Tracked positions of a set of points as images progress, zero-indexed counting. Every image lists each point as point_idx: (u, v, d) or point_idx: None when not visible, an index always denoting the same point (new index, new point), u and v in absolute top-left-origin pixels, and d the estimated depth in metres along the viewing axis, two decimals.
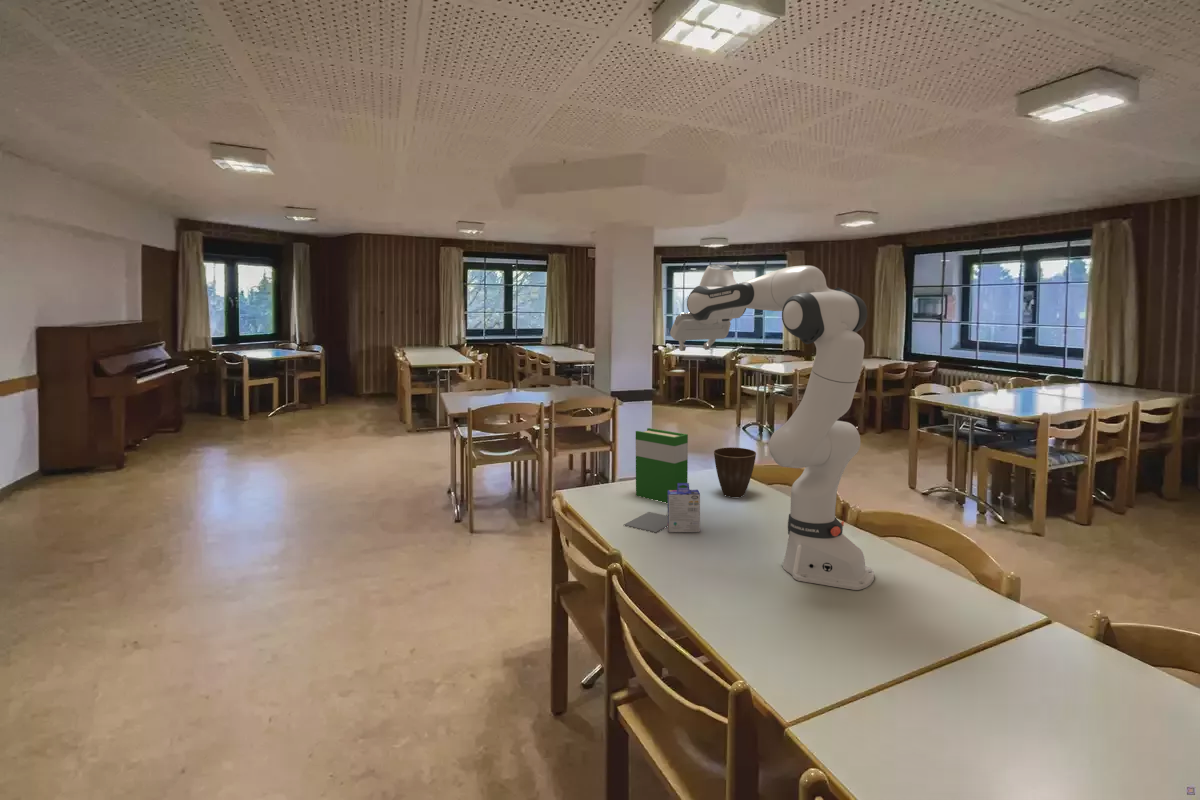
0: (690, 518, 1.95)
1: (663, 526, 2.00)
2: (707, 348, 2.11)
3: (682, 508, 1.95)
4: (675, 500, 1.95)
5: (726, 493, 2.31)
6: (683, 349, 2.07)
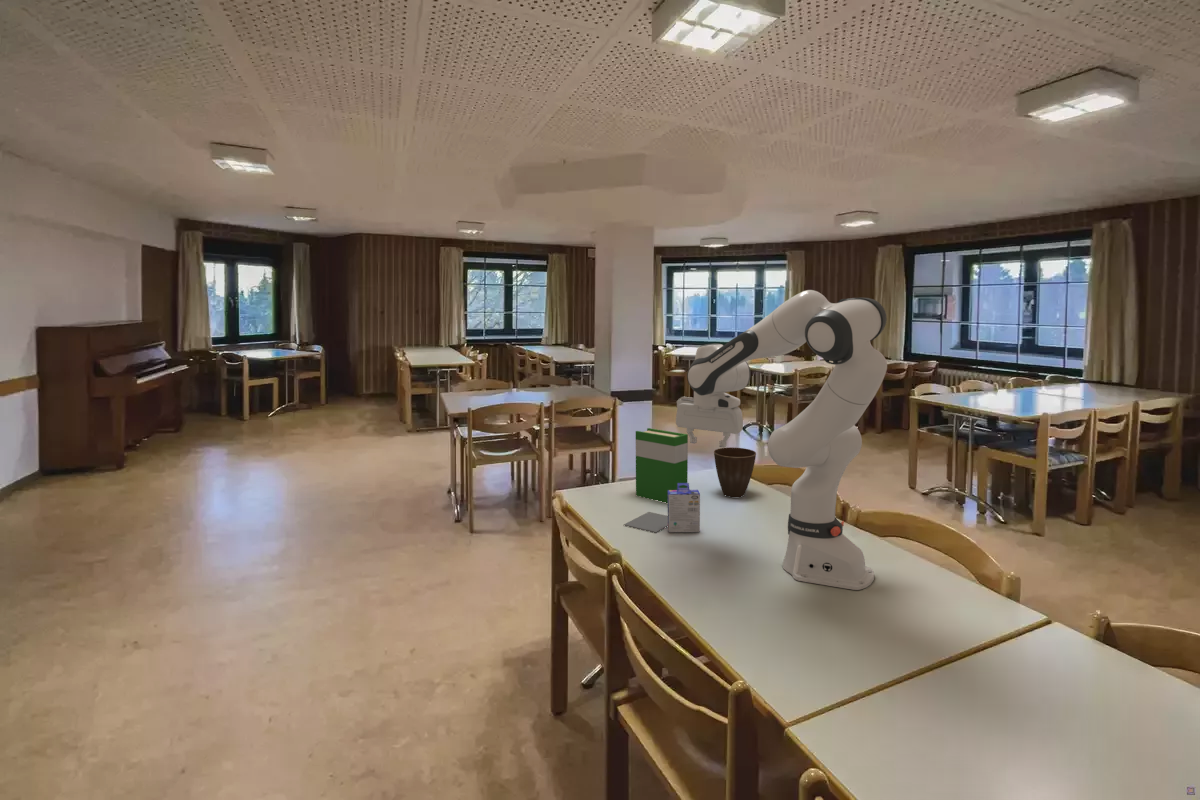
0: (690, 518, 1.95)
1: (663, 526, 2.00)
2: (721, 445, 1.87)
3: (682, 508, 1.95)
4: (675, 500, 1.95)
5: (726, 493, 2.31)
6: (692, 441, 1.92)
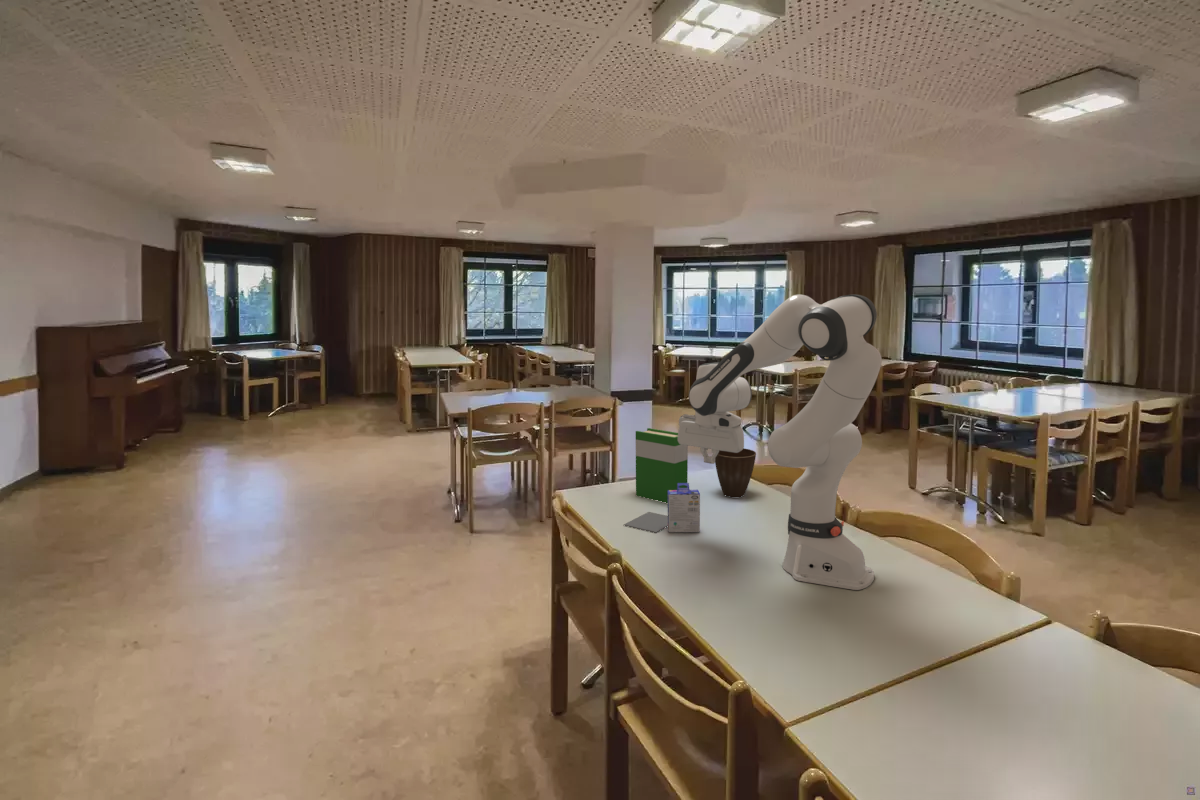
0: (690, 518, 1.95)
1: (663, 526, 2.00)
2: (709, 461, 1.89)
3: (682, 508, 1.95)
4: (675, 500, 1.95)
5: (726, 493, 2.31)
6: (705, 460, 1.90)
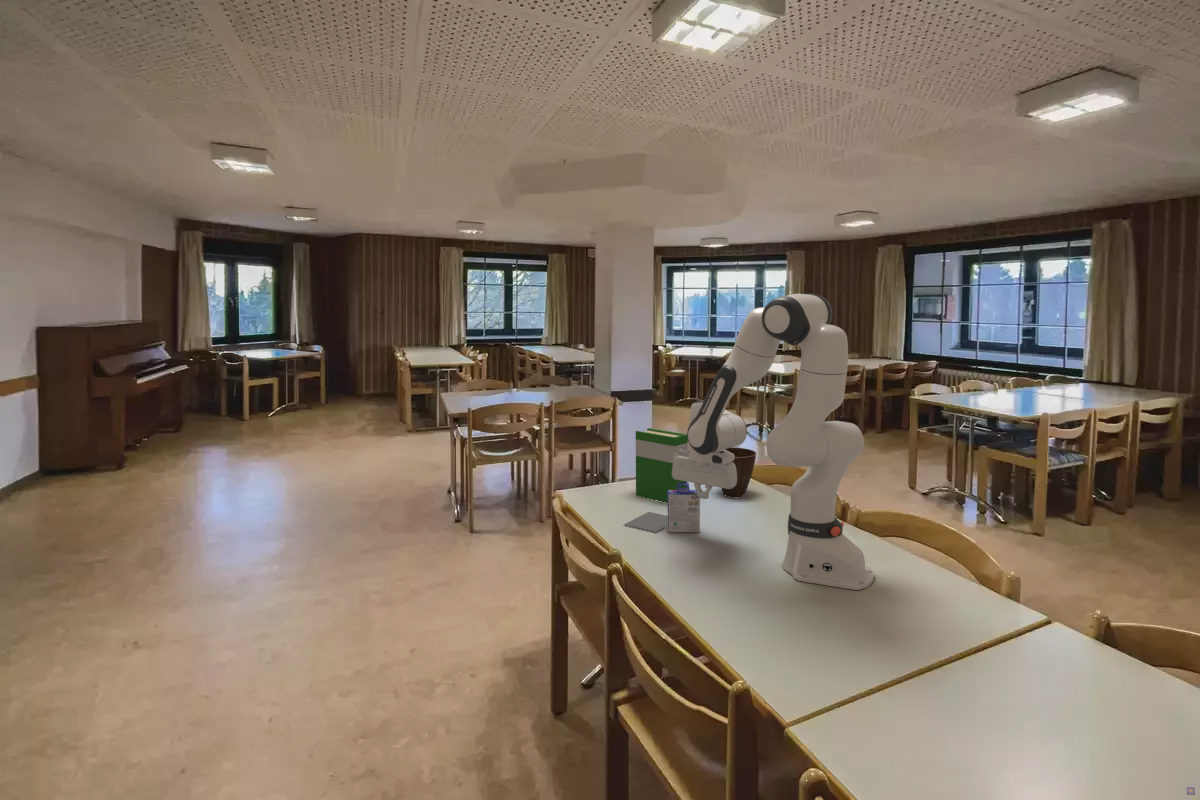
0: (690, 518, 1.95)
1: (663, 526, 2.00)
2: (703, 496, 1.92)
3: (682, 508, 1.95)
4: (675, 500, 1.95)
5: (726, 493, 2.31)
6: (699, 495, 1.92)
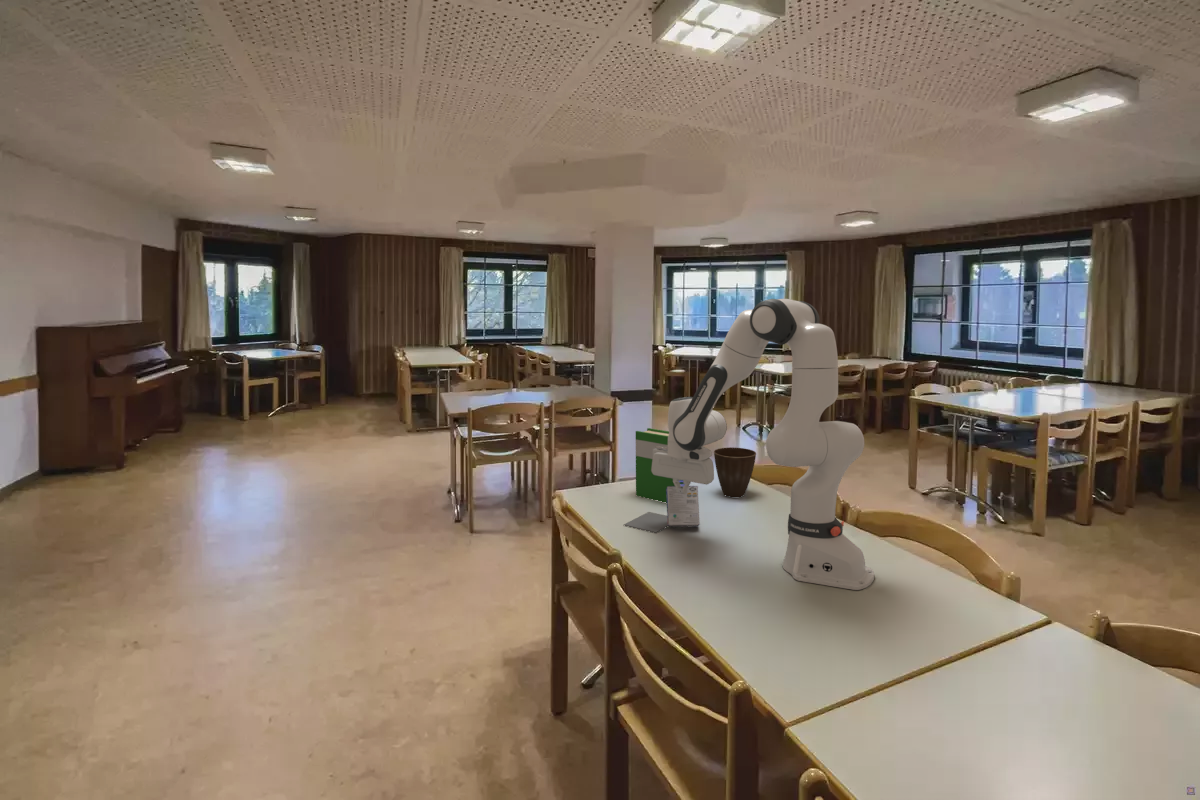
0: (689, 511, 1.97)
1: (663, 526, 2.00)
2: (681, 492, 1.96)
3: (681, 500, 1.98)
4: (674, 491, 1.99)
5: (726, 493, 2.31)
6: (678, 491, 1.97)
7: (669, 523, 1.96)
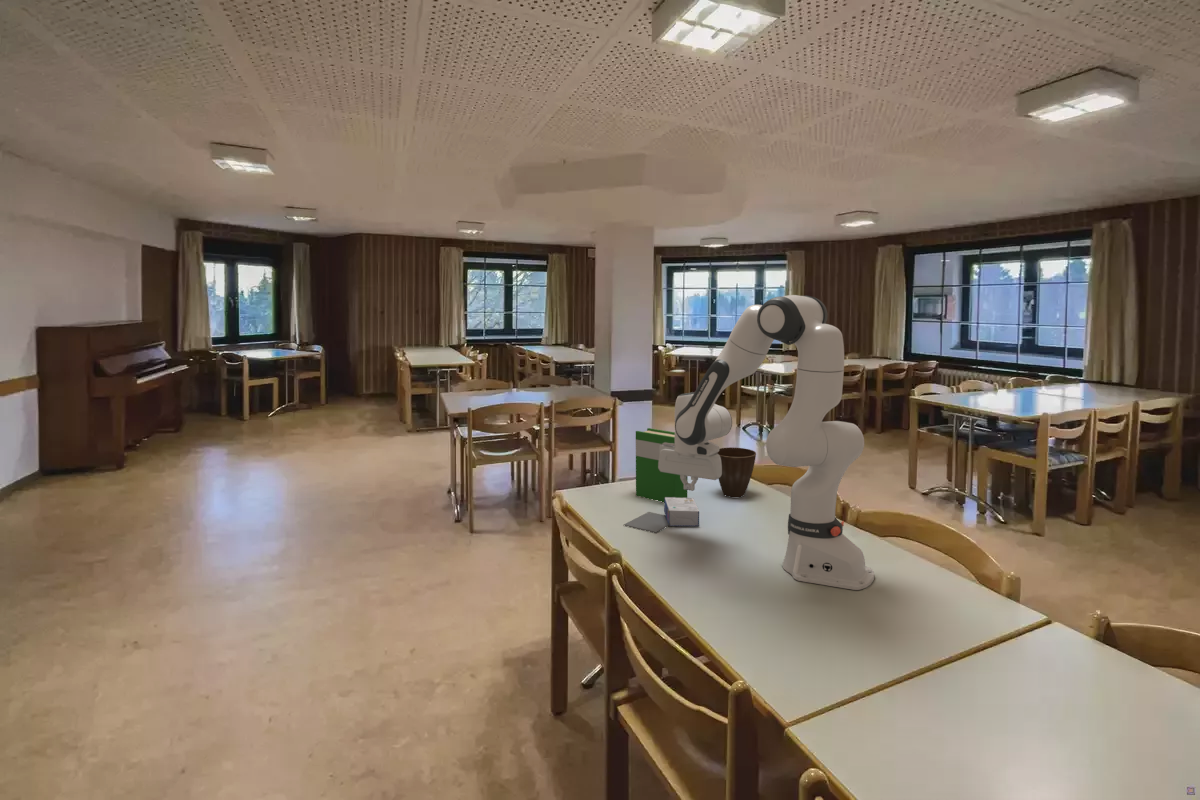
0: (688, 506, 2.04)
1: (663, 526, 2.00)
2: (689, 488, 1.94)
3: (678, 502, 2.07)
4: (671, 499, 2.10)
5: (726, 493, 2.31)
6: (685, 487, 1.95)
7: (669, 510, 2.00)
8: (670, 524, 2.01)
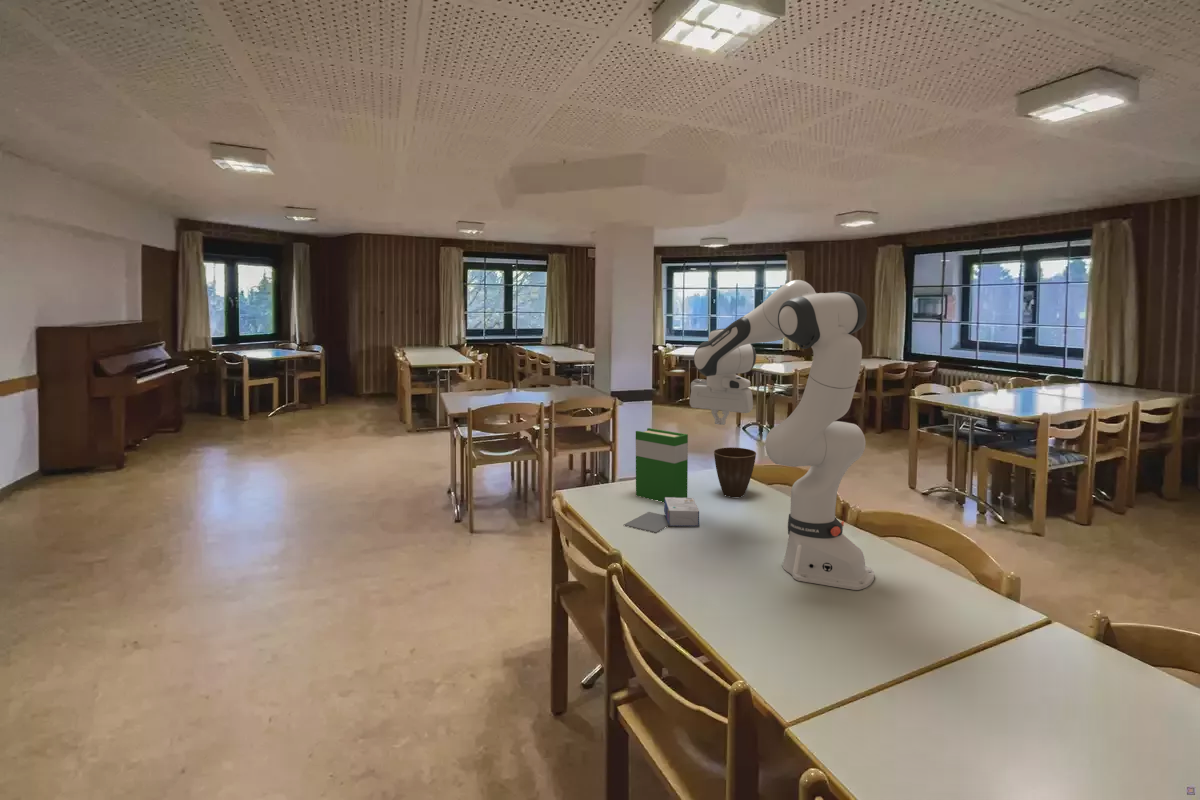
0: (688, 506, 2.04)
1: (663, 526, 2.00)
2: (720, 422, 2.01)
3: (678, 502, 2.07)
4: (671, 499, 2.10)
5: (726, 493, 2.31)
6: (716, 421, 2.02)
7: (669, 510, 2.00)
8: (670, 524, 2.01)
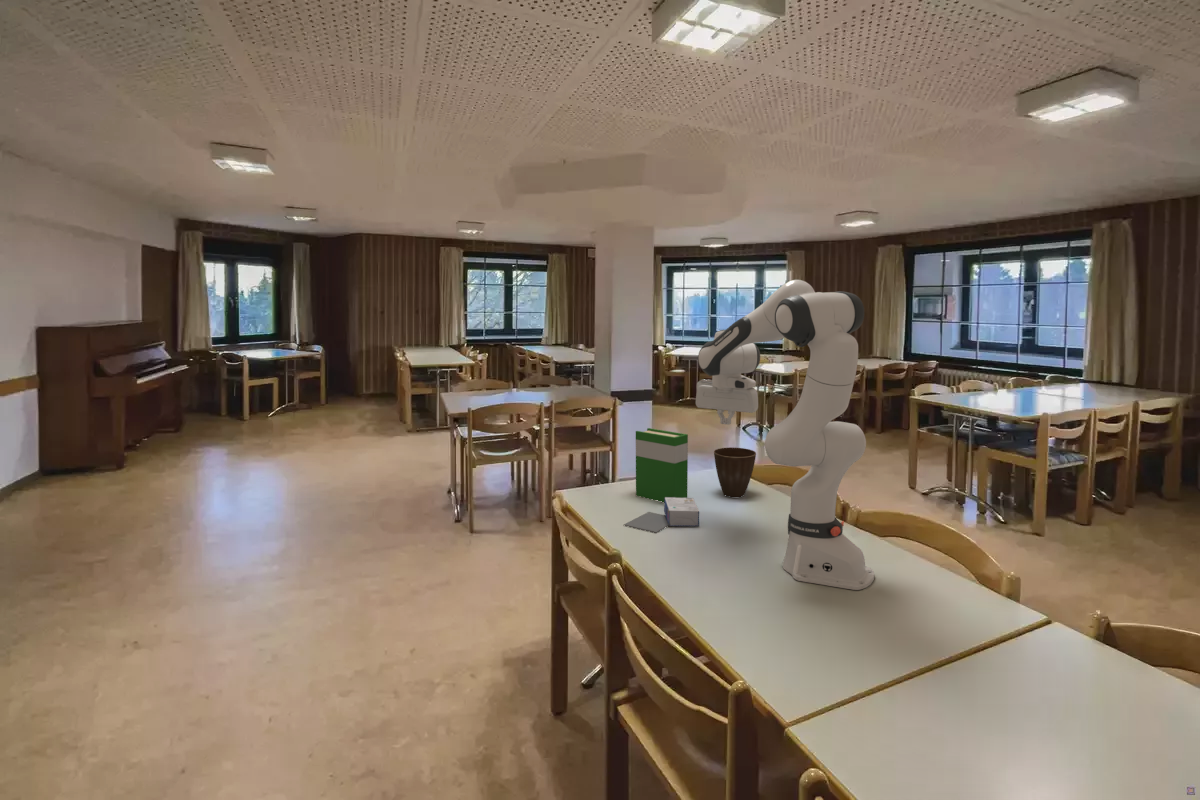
0: (688, 506, 2.04)
1: (663, 526, 2.00)
2: (726, 422, 2.03)
3: (678, 502, 2.07)
4: (671, 499, 2.10)
5: (726, 493, 2.31)
6: (722, 421, 2.04)
7: (669, 510, 2.00)
8: (670, 524, 2.01)
